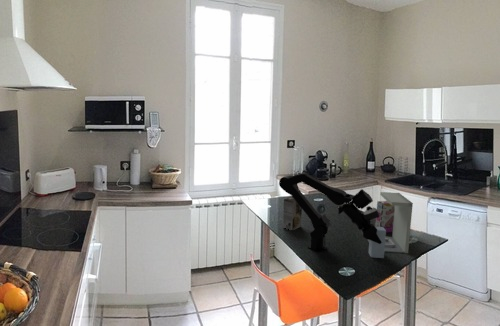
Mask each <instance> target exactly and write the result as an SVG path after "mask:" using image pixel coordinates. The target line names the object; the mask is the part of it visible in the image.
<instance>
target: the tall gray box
mask: <svg viewBox="0 0 500 326" xmlns="http://www.w3.org/2000/svg"><path fill="white" fill-rule="evenodd" d="M376 229H377V233H376V234H377V235H378V237H379V239H380V240H381V242H382V243H381V244H378V243H376V242H374V241H371V240H369V242H368V243H369V244H368V254H369V255H368V256H370V258H375V259H376V258H377V259H379V258H380V259H385V252H384V250H385V238H386V237H387V233H386V230H385V229H384V228H383V227H376Z"/></svg>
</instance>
